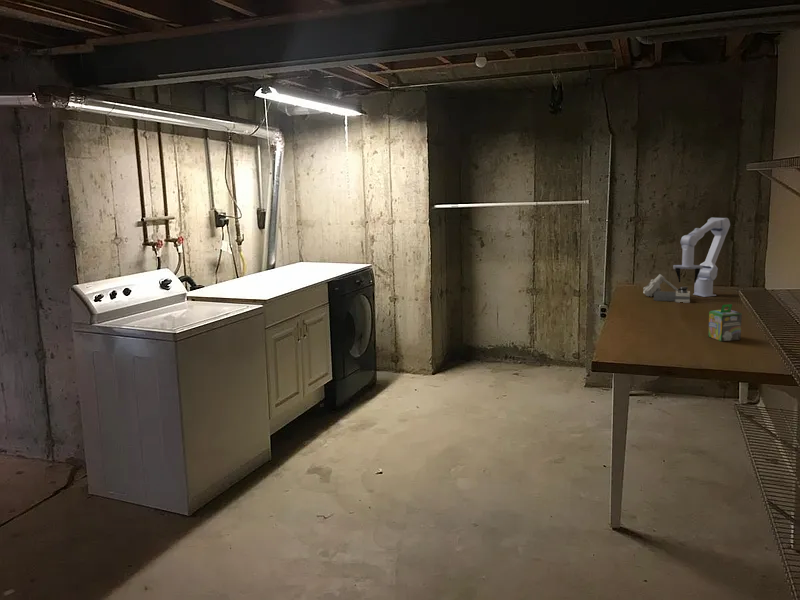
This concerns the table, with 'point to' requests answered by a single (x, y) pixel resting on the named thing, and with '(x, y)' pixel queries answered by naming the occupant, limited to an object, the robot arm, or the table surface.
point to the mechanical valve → (656, 285)
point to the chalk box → (725, 324)
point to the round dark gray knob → (683, 289)
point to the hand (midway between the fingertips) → (687, 282)
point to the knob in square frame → (672, 296)
